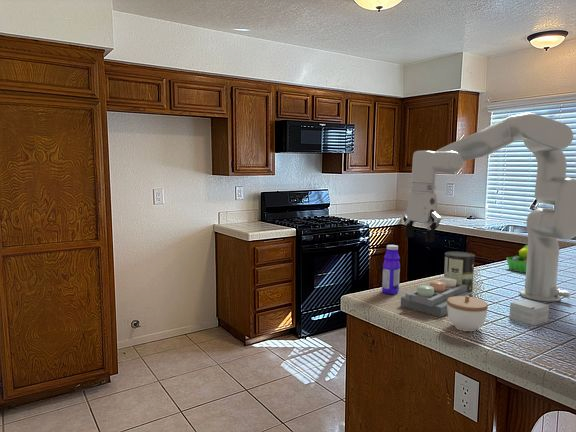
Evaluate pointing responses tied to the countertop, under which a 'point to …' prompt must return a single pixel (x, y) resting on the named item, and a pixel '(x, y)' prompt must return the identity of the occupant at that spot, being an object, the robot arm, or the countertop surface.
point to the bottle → (391, 270)
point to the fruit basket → (519, 260)
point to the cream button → (449, 281)
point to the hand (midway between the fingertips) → (419, 239)
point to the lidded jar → (466, 312)
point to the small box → (529, 311)
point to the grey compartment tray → (433, 300)
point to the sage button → (425, 291)
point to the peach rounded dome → (438, 286)
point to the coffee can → (460, 268)
